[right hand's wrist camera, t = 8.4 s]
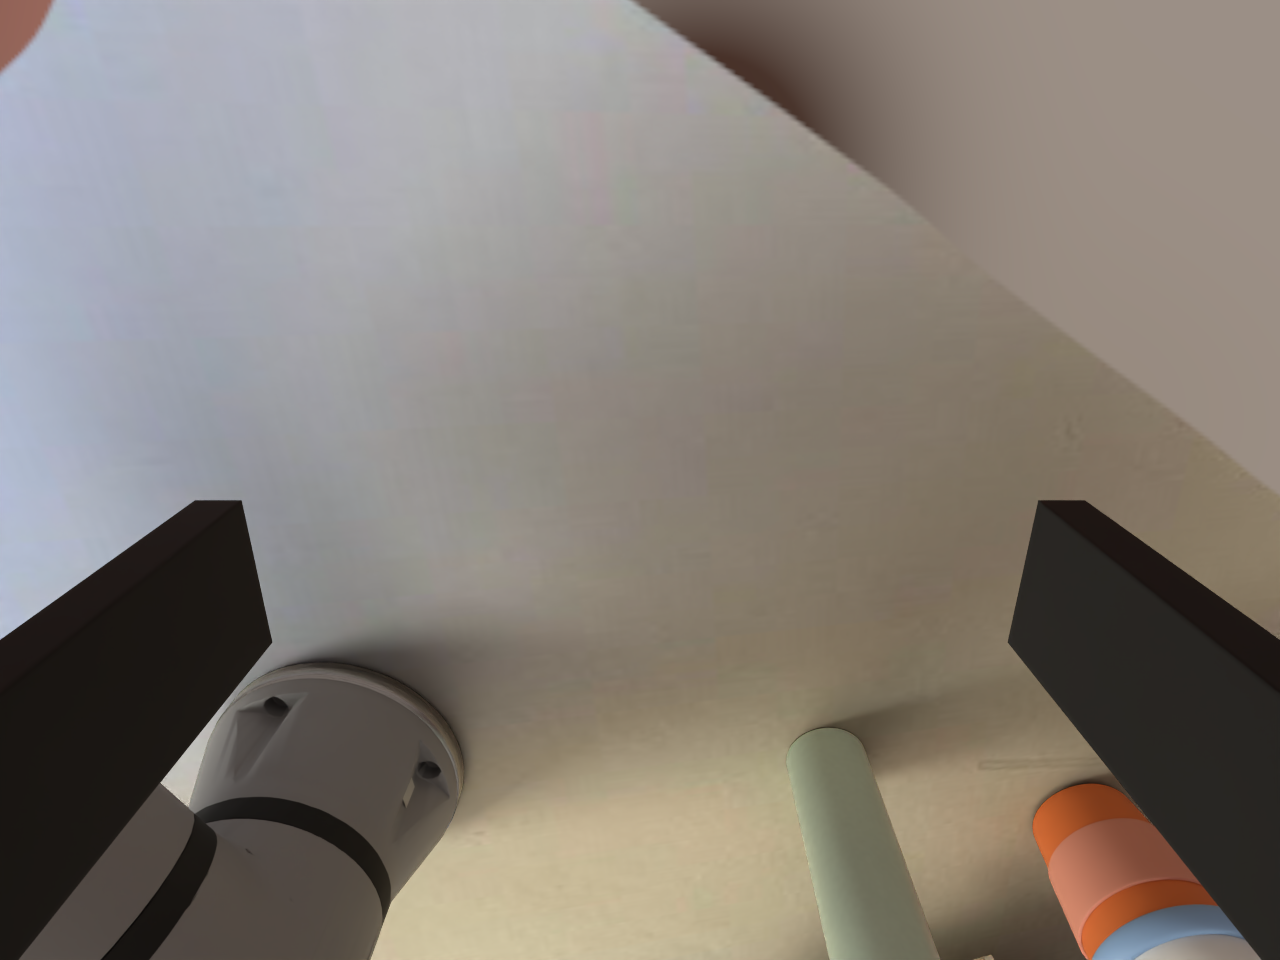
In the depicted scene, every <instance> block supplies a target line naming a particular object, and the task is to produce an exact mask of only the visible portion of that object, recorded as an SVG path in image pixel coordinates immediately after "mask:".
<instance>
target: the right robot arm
mask: <svg viewBox="0 0 1280 960" xmlns="http://www.w3.org/2000/svg"><path fill="white" fill-rule="evenodd" d="M271 643H272V639H271V634H270V630H269V625H268V620H267V616H266V611H265V607H264V602H263V597H262V593H261V588H260V583H259V579H258V574H257V570H256V565H255V560H254V556H253V551H252V546H251V542H250V537H249V533H248V528H247V523H246V519H245V514H244V509H243V505H242V500H195V501H194V502H192V503H191V504H189V505H188V506H187V507H185V508H184V509H182V510H181V511H180V512H178V513H177V514H175V515H174V516H173V517H171V518H170V519H168V520H167V521H166V522H164V523H163V524H161V525H160V526H159V527H157V528H156V529H154V530H153V531H152V532H150V533H149V534H148V535H146V536H145V537H143V538H142V539H141V540H139V541H138V542H136V543H135V544H134V545H132V546H131V547H129V548H128V549H127V550H125V551H124V552H122V553H121V554H120V555H118V556H117V557H115V558H114V559H113V560H111V561H110V562H108V563H107V564H106V565H104V566H103V567H101V568H100V569H99V570H97V571H96V572H94V573H93V574H92V575H90V576H89V577H87V578H86V579H85V580H83V581H82V582H80V583H79V584H78V585H76V586H75V587H73V588H72V589H71V590H69V591H68V592H66V593H65V594H64V595H62V596H61V597H60V598H58V599H57V600H55V601H54V602H53V603H51V604H50V605H48V606H47V607H46V608H44V609H43V610H41V611H40V612H39V613H37V614H36V615H34V616H33V617H32V618H30V619H29V620H27V621H26V622H25V623H23V624H22V625H20V626H19V627H18V628H16V629H15V630H13V631H12V632H11V633H9V634H8V635H6V636H5V637H4V638H2V639H1V640H0V960H370V959H371V956H372V954H373V951H374V948H375V945H376V942H377V940H378V937H379V934H380V931H381V928H382V925H383V922H384V920H385V917H386V914H387V912H388V909H389V906H390V904H391V901H392V900H393V899H394V898H395V896H396V895H397V894H398V893H399V891H400V890H401V889H402V887H403V886H404V885H405V884H406V882H407V881H408V880H409V879H410V877H411V876H412V875H413V874H414V872H415V871H416V870H417V868H418V867H419V866H420V865H421V863H422V862H423V861H424V860H425V858H426V857H427V856H428V854H429V853H430V852H431V851H432V849H433V848H434V847H435V846H436V844H437V843H438V842H439V840H440V839H441V838H442V836H443V835H444V833H445V831H446V829H447V827H448V826H449V824H450V822H451V820H452V818H453V816H454V813H455V810H456V807H457V804H458V801H459V798H460V794H461V791H462V786H463V779H464V765H463V759H462V754H461V751H460V748H459V745H458V743H457V740H456V738H455V736H454V734H453V732H452V731H451V729H450V727H449V726H448V724H447V723H446V721H445V720H444V719H443V717H442V716H441V715H440V714H439V713H438V712H437V710H436V709H435V708H434V707H433V706H431V705H430V704H429V703H428V702H427V701H426V700H425V699H424V698H422V697H421V696H420V695H419V694H417V693H416V692H414V691H413V690H411V689H410V688H409V687H407V686H405V685H403V684H402V683H400V682H398V681H396V680H394V679H392V678H390V677H388V676H385V675H383V674H380V673H378V672H375V671H372V670H369V669H365V668H362V667H357V666H353V665H347V664H340V663H327V662H317V663H304V664H297V665H292V666H287V667H284V668H281V669H277V670H275V671H272V672H270V673H267V674H265V675H264V676H262V677H260V678H258V679H256V680H255V681H254V682H252V683H251V684H249V685H248V686H247V687H246V688H245V689H243V690H242V691H241V692H240V693H239V695H238V696H237V697H236V698H235V699H234V701H233V702H232V703H231V704H230V706H229V707H228V708H227V709H226V711H225V712H224V713H223V714H222V716H221V717H220V719H219V720H218V722H217V724H216V726H215V728H214V730H213V732H212V734H211V736H210V738H209V740H208V743H207V746H206V749H205V752H204V756H203V759H202V763H201V766H200V769H199V773H198V776H197V779H196V783H195V786H194V790H193V793H192V796H191V800H190V803H189V806H188V807H187V806H186V805H184V804H183V803H182V802H181V801H180V800H179V799H178V798H176V797H175V796H174V795H173V794H172V793H171V792H170V791H169V790H167V789H166V788H165V787H164V786H163V785H162V784H161V783H160V782H161V781H162V780H163V778H164V777H165V776H166V775H167V773H168V772H169V771H170V770H171V768H172V767H173V766H174V765H175V763H176V762H177V761H178V760H179V758H180V757H181V756H182V755H183V753H184V752H185V751H186V750H187V748H188V747H189V746H190V745H191V743H192V742H193V741H194V740H195V738H196V737H197V736H198V735H199V733H200V732H201V731H202V730H203V728H204V727H205V726H206V725H207V723H208V722H209V721H210V720H211V718H212V717H213V716H214V715H215V713H216V712H217V711H218V710H219V708H220V707H221V706H222V705H223V703H224V702H225V701H226V700H227V698H228V697H229V696H230V695H231V693H232V692H233V691H234V690H235V688H236V687H237V686H238V685H239V683H240V682H241V681H242V680H243V678H244V677H245V676H246V675H247V673H248V672H249V671H250V670H251V668H252V667H253V666H254V665H255V663H256V662H257V661H258V660H259V658H260V657H261V656H262V655H263V653H264V652H265V651H266V650H267V648H268V647H269V646H270V645H271ZM1008 643H1009V645H1010V646H1011V647H1012V648H1013V650H1014V651H1015V652H1016V653H1017V655H1018V656H1019V657H1020V658H1021V660H1022V661H1023V662H1024V663H1025V665H1026V666H1027V667H1028V668H1029V670H1030V671H1031V672H1032V673H1033V675H1034V676H1035V677H1036V678H1037V680H1038V681H1039V682H1040V683H1041V685H1042V686H1043V687H1044V688H1045V690H1046V691H1047V692H1048V693H1049V695H1050V696H1051V697H1052V698H1053V700H1054V701H1055V702H1056V703H1057V705H1058V706H1059V707H1060V708H1061V710H1062V711H1063V712H1064V713H1065V715H1066V716H1067V717H1068V718H1069V720H1070V721H1071V722H1072V723H1073V725H1074V726H1075V727H1076V728H1077V730H1078V731H1079V732H1080V733H1081V735H1082V736H1083V737H1084V738H1085V740H1086V741H1087V742H1088V743H1089V745H1090V746H1091V747H1092V748H1093V750H1094V751H1095V752H1096V753H1097V755H1098V756H1099V757H1100V758H1101V760H1102V761H1103V762H1104V763H1105V765H1106V766H1107V767H1108V768H1109V770H1110V771H1111V772H1112V773H1113V775H1114V776H1115V777H1116V778H1117V780H1118V781H1119V782H1120V783H1121V785H1122V786H1123V787H1124V788H1125V790H1126V791H1127V792H1128V793H1129V795H1130V796H1131V797H1132V798H1133V800H1134V801H1135V802H1136V804H1137V805H1138V806H1139V807H1140V809H1141V810H1142V811H1143V812H1144V814H1145V815H1146V816H1147V817H1148V819H1149V820H1150V821H1151V822H1152V824H1153V825H1154V826H1155V827H1156V829H1157V830H1158V831H1159V832H1160V834H1161V835H1162V836H1163V837H1164V839H1165V840H1166V841H1167V842H1168V844H1169V845H1170V846H1171V847H1172V849H1173V850H1174V851H1175V852H1176V854H1177V855H1178V856H1179V857H1180V859H1181V860H1182V861H1183V862H1184V864H1185V865H1186V866H1187V867H1188V869H1189V870H1190V871H1191V872H1192V874H1193V875H1194V876H1195V877H1196V879H1197V880H1198V881H1199V882H1200V884H1201V885H1202V886H1203V887H1204V889H1205V890H1206V891H1207V892H1208V894H1209V895H1210V896H1211V897H1212V899H1213V900H1214V901H1215V902H1216V904H1217V905H1218V906H1219V907H1220V909H1221V910H1222V911H1223V912H1224V914H1225V915H1226V916H1227V917H1228V919H1229V920H1230V921H1231V922H1232V924H1233V925H1234V926H1235V927H1236V929H1237V930H1238V931H1239V932H1240V934H1241V935H1242V936H1243V937H1244V939H1245V940H1246V941H1247V942H1248V944H1249V945H1250V946H1251V947H1252V949H1253V950H1254V951H1255V952H1256V954H1257V955H1258V956H1259V957H1260V959H1261V960H1280V640H1279V639H1278V638H1276V637H1275V636H1274V635H1272V634H1271V633H1269V632H1268V631H1267V630H1265V629H1264V628H1262V627H1261V626H1260V625H1258V624H1257V623H1255V622H1254V621H1253V620H1251V619H1250V618H1248V617H1247V616H1246V615H1244V614H1243V613H1241V612H1240V611H1239V610H1237V609H1236V608H1234V607H1233V606H1232V605H1230V604H1229V603H1227V602H1226V601H1225V600H1223V599H1222V598H1220V597H1219V596H1218V595H1216V594H1215V593H1214V592H1212V591H1211V590H1209V589H1208V588H1207V587H1205V586H1204V585H1202V584H1201V583H1200V582H1198V581H1197V580H1195V579H1194V578H1193V577H1191V576H1190V575H1188V574H1187V573H1186V572H1184V571H1183V570H1181V569H1180V568H1179V567H1177V566H1176V565H1174V564H1173V563H1172V562H1170V561H1169V560H1167V559H1166V558H1165V557H1163V556H1162V555H1160V554H1159V553H1158V552H1156V551H1155V550H1153V549H1152V548H1151V547H1149V546H1148V545H1146V544H1145V543H1144V542H1142V541H1141V540H1139V539H1138V538H1137V537H1135V536H1134V535H1132V534H1131V533H1130V532H1128V531H1127V530H1126V529H1124V528H1123V527H1121V526H1120V525H1119V524H1117V523H1116V522H1114V521H1113V520H1112V519H1110V518H1109V517H1107V516H1106V515H1105V514H1103V513H1102V512H1100V511H1099V510H1098V509H1096V508H1095V507H1093V506H1092V505H1091V504H1089V503H1088V502H1086V501H1085V500H1038V505H1037V509H1036V514H1035V519H1034V523H1033V528H1032V533H1031V537H1030V542H1029V546H1028V551H1027V556H1026V560H1025V565H1024V570H1023V574H1022V579H1021V583H1020V588H1019V593H1018V597H1017V602H1016V607H1015V611H1014V616H1013V620H1012V625H1011V630H1010V634H1009V639H1008Z"/></svg>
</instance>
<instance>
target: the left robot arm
mask: <svg viewBox="0 0 1280 960" xmlns="http://www.w3.org/2000/svg"><path fill="white" fill-rule="evenodd" d="M972 960H994V959H993V956H992V955H988V956H984V957H980V958H976V959H972Z"/></svg>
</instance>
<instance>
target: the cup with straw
mask: <svg viewBox="0 0 1280 960" xmlns="http://www.w3.org/2000/svg"><path fill="white" fill-rule="evenodd" d="M1033 834H1034V837H1035V839H1036V842H1037V844H1038V846H1039V849H1040V851H1041V853H1042V856H1043V858H1044V860H1045V862H1046V865H1047V867H1048V874H1049V878H1050V881H1051V884H1052V886H1053V888H1054V890H1055V893H1056V895H1057V897H1058V900H1059V902H1060V904H1061V906H1062V909H1063V911H1064V913H1065V916H1066V918H1067V920H1068V922H1069V925H1070V927H1071V929H1072V932H1073V934H1074V936H1075V938H1076V941H1077V943H1078V945H1079V947H1080V950H1081V952H1082V954H1083V955H1084V956H1085V958H1086V959H1087V960H1261V959H1260V957H1259V956H1258V955H1257V954H1256V952H1255V951H1254V950H1253V949H1252V947H1251V946H1250V945H1249V944H1248V942H1247V941H1246V940H1245V939H1244V937H1243V936H1242V935H1241V934H1240V932H1239V931H1238V930H1237V929H1236V927H1235V926H1234V925H1233V924H1232V922H1231V921H1230V920H1229V919H1228V917H1227V916H1226V915H1225V914H1224V912H1223V911H1222V910H1221V909H1220V907H1219V906H1218V905H1217V904H1216V902H1215V901H1214V900H1213V899H1212V897H1211V896H1210V895H1209V894H1208V892H1207V891H1206V890H1205V889H1204V887H1203V886H1202V885H1201V884H1200V882H1199V881H1198V880H1197V879H1196V877H1195V876H1194V875H1193V874H1192V872H1191V871H1190V870H1189V869H1188V867H1187V866H1186V865H1185V864H1184V862H1183V861H1182V860H1181V859H1180V857H1179V856H1178V855H1177V854H1176V852H1175V851H1174V850H1173V849H1172V847H1171V846H1170V845H1169V844H1168V842H1167V841H1166V840H1165V839H1164V837H1163V836H1162V835H1161V834H1160V832H1159V831H1158V830H1157V829H1156V827H1155V826H1154V825H1152V824H1151V823H1150V822H1149V821H1148V820H1147V819H1146V818H1145V816H1144V815H1143V814H1142V813H1141V812H1140V811H1139V810H1138V809H1137V808H1136V807H1135V806H1134V804H1133V803H1132V802H1131V801H1130V800H1129V799H1128V798H1127V797H1126V796H1125V795H1124V794H1122V793H1121V792H1120V791H1118V790H1116V789H1114V788H1112V787H1109V786H1106V785H1101V784H1081V785H1076V786H1072V787H1069V788H1066V789H1064V790H1061V791H1059V792H1057V793H1056V794H1054V795H1052V796H1051V797H1050V798H1048V799H1047V800H1046V801H1045V802H1044V803H1043V804H1042V805H1041V806H1040V808H1039V809H1038V811H1037V813H1036V815H1035V817H1034V820H1033Z"/></svg>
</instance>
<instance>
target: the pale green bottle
mask: <svg viewBox="0 0 1280 960" xmlns="http://www.w3.org/2000/svg"><path fill="white" fill-rule="evenodd" d="M786 764H787V769H788V774H789V778H790V783H791V787H792V792H793V796H794V801H795V806H796V810H797V815H798V819H799V824H800V828H801V833H802V837H803V842H804V847H805V851H806V856H807V860H808V865H809V869H810V874H811V878H812V883H813V888H814V892H815V897H816V901H817V906H818V910H819V915H820V919H821V924H822V928H823V933H824V938H825V942H826V947H827V951H828V956H829V960H940V957H939V954H938V951H937V948H936V946H935V943H934V940H933V937H932V935H931V932H930V929H929V926H928V923H927V921H926V918H925V915H924V912H923V910H922V907H921V904H920V901H919V899H918V896H917V893H916V890H915V887H914V885H913V882H912V879H911V876H910V874H909V871H908V868H907V865H906V862H905V860H904V857H903V854H902V851H901V849H900V846H899V843H898V840H897V838H896V835H895V832H894V829H893V826H892V824H891V821H890V818H889V815H888V813H887V810H886V807H885V804H884V802H883V799H882V796H881V793H880V790H879V788H878V785H877V782H876V779H875V777H874V774H873V771H872V768H871V765H870V763H869V760H868V757H867V754H866V752H865V749H864V746H863V745H862V743H861V742H860V740H859V739H858V738H857V737H856V736H854V735H853V734H851V733H849V732H847V731H845V730H842V729H838V728H820V729H815V730H812V731H810V732H807V733H805V734H804V735H802V736H800V737H799V738H798V739H797V740H796V741H795V742H794V743H793V744H792V745H791V747H790V749H789V751H788V754H787V758H786Z"/></svg>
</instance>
